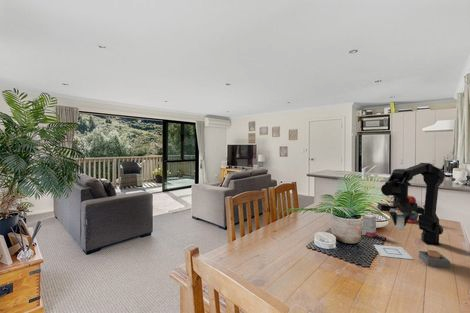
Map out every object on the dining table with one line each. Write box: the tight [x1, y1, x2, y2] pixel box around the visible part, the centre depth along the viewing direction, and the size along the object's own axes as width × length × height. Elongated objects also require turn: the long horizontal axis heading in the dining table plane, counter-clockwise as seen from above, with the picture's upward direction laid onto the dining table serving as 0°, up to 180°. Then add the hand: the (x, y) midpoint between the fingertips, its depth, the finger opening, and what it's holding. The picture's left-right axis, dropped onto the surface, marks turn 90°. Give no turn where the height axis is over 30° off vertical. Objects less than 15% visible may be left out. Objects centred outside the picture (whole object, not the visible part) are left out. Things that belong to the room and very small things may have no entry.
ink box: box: [361, 214, 377, 238], centre depth 138 cm, size 9×5×12 cm, turn 33°
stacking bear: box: [401, 194, 420, 224], centre depth 162 cm, size 11×10×18 cm
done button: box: [426, 249, 441, 259], centre depth 104 cm, size 4×4×2 cm
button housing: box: [418, 250, 451, 269], centre depth 105 cm, size 8×8×3 cm
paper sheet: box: [373, 244, 415, 260], centre depth 115 cm, size 13×13×1 cm
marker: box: [394, 213, 405, 231], centre depth 117 cm, size 4×4×7 cm
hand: (399, 225), depth 117 cm, fingers closed on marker, 4 cm apart
